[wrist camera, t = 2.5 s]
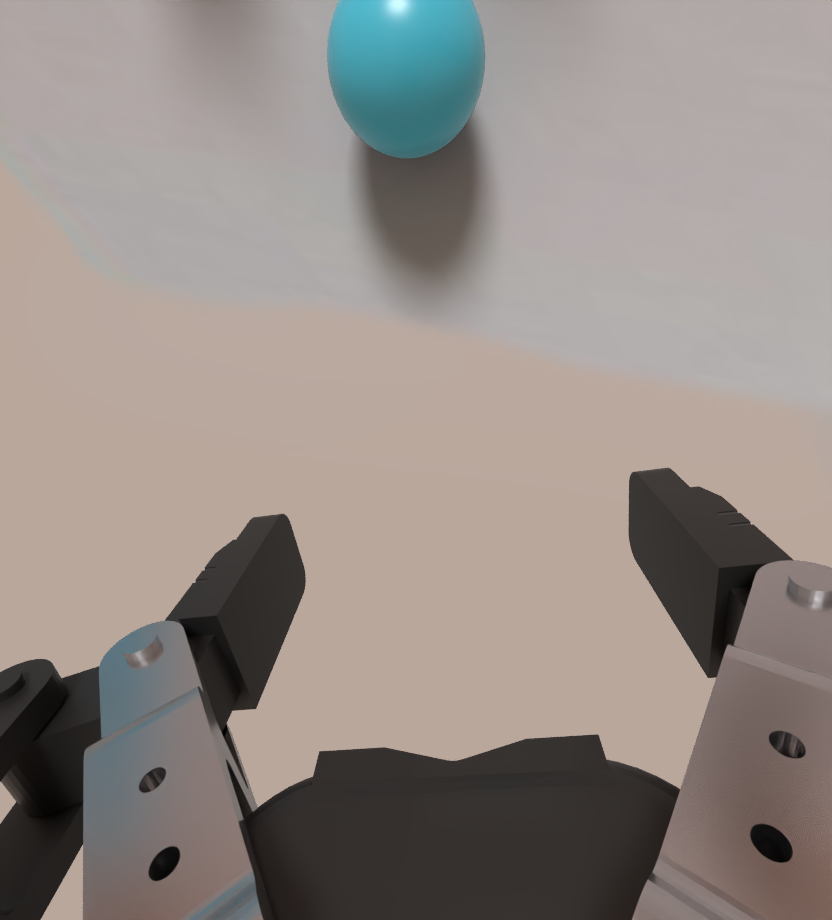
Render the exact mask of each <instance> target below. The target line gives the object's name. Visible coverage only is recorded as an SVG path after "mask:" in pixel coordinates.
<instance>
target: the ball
mask: <svg viewBox="0 0 832 920" xmlns="http://www.w3.org/2000/svg"><path fill="white" fill-rule="evenodd" d="M327 58H328V72H329V78H330V84H331V87H332V91H333V95H334V97H335V100H336V102H337V105H338V107H339V109H340V111H341V113H342V115H343V117H344V119H345V120H346V122H347V123H348V125H349V126H350V128H351V129H352V130H353V131H354V132H355V133H356V135H357V136H358V137H359V138H360V139H362V140H363V141H364V142H365V143H366V144H368V145H369V146H371V147H372V148H374V149H375V150H377V151H379V152H381V153H383V154H385V155H389V156H392V157H397V158H417V157H422V156H425V155H429V154H431V153H433V152H435V151H437V150H439V149H441V148H442V147H444V146H445V145H447V144H448V143H449V142H450V141H451V140H453V139H454V138H455V137H456V136H457V134H458V133H459V132H460V131H461V130H462V129H463V127H464V126H465V124H466V123H467V121H468V120H469V118H470V116H471V114H472V112H473V110H474V108H475V106H476V103H477V100H478V98H479V95H480V91H481V87H482V83H483V76H484V67H485V46H484V37H483V31H482V27H481V23H480V20H479V16H478V13H477V11H476V8H475V6H474V4H473V1H472V0H339V2H338V4H337V7H336V9H335V12H334V15H333V18H332V22H331V26H330V30H329V37H328V48H327Z"/></svg>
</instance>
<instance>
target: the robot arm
mask: <svg viewBox="0 0 832 920" xmlns="http://www.w3.org/2000/svg"><path fill="white" fill-rule="evenodd" d="M629 541H630V546H631V550H632V553H633V556H634V558H635V560H636V562H637V564H638V565H639V567H640V568H641V570H642V572H643V573H644V575H645V576H646V578H647V580H648V581H649V583H650V584H651V586H652V588H653V590H654V591H655V592H656V594H657V596H658V598H659V599H660V601H661V602H662V604H663V606H664V607H665V609H666V611H667V612H668V614H669V615H670V617H671V619H672V620H673V622H674V624H675V625H676V627H677V628H678V630H679V632H680V633H681V635H682V637H683V638H684V640H685V641H686V643H687V645H688V646H689V648H690V649H691V651H692V653H693V654H694V656H695V658H696V659H697V661H698V662H699V664H700V666H701V667H702V669H703V671H704V672H705V674H706V675H707V677H708V678H714V677H717V678H716V681H715V684H714V687H713V690H712V693H711V696H710V699H709V702H708V705H707V709H706V712H705V715H704V718H703V721H702V724H701V727H700V730H699V733H698V736H697V739H696V743H695V746H694V749H693V752H692V755H691V758H690V761H689V764H688V767H687V771H686V774H685V777H684V780H683V783H682V786H681V789H679V788H677V787H676V786H674V785H672V784H670V783H668V782H667V781H665V780H663V779H661V778H659V777H657V776H655V775H653V774H650V773H648V772H646V771H643V770H641V769H639V768H635V767H632V766H629V765H626V764H623V763H619V762H615V761H610V760H606V757H605V754H604V751H603V748H602V745H601V742H600V738H599V735H583V736H567V737H550V738H534V739H525V740H522V741H518V742H515V743H512V744H509V745H506V746H503V747H500V748H497V749H493V750H490V751H488V752H484V753H481V754H478V755H475V756H472V757H469V758H466V759H462V760H458V761H447V760H442V759H437V758H432V757H428V756H423V755H417V754H413V753H408V752H404V751H399V750H394V749H389V748H369V749H353V750H337V751H320V752H319V755H318V759H317V764H316V767H315V772H314V775H313V777H311V778H308V779H305V780H303V781H301V782H299V783H297V784H295V785H293V786H290V787H288V788H287V789H285V790H283V791H282V792H280V793H278V794H276V795H275V796H273V797H272V798H271V799H269V800H268V801H267V802H265V803H264V804H262V805H261V806H259V807H257V804H256V802H255V799H254V796H253V793H252V790H251V787H250V784H249V782H248V779H247V776H246V773H245V771H244V767H243V764H242V762H241V759H240V756H239V753H238V750H237V747H236V744H235V742H234V739H233V736H232V733H231V731H230V729H229V726H228V724H227V721H228V719H229V717H230V714H231V712H232V711H233V710H246V709H256V707H257V705H258V702H259V700H260V697H261V695H262V693H263V690H264V688H265V686H266V683H267V680H268V678H269V676H270V673H271V671H272V669H273V666H274V664H275V661H276V659H277V656H278V654H279V652H280V649H281V647H282V644H283V642H284V639H285V637H286V635H287V632H288V630H289V627H290V625H291V623H292V620H293V618H294V615H295V613H296V610H297V608H298V605H299V603H300V600H301V598H302V596H303V593H304V590H305V570H304V566H303V562H302V559H301V556H300V553H299V550H298V546H297V543H296V540H295V537H294V533H293V530H292V527H291V524H290V521H289V519H288V517H287V516H286V515H284V514H278V515H271V516H262V517H254V518H252V519H251V520H250V521H249V523H248V524H247V525H246V527H245V528H244V530H243V531H242V532H241V534H240V535H239V537H238V538H237V539H236V540H232V541H231V542H230V543H229V544H227V545H226V546H225V547H223V548H222V549H221V550H219V551H218V552H217V553H216V554H215V555H214V556H213V558H212V559H211V560H210V561H209V563H208V564H207V566H206V567H205V571H202V572H201V573H200V575H199V576H198V577H197V579H196V583H193V584H192V585H191V587H190V588H189V589H188V591H187V592H186V593H185V594H184V596H183V597H182V599H181V600H180V601H179V602H178V604H177V605H176V606H175V608H174V609H173V610H172V612H171V613H170V614H169V616H168V617H167V618H166V620H165V621H160V622H156V623H152V624H149V625H146V626H144V627H141V628H139V629H137V630H135V631H133V632H131V633H130V634H128V635H127V636H125V637H124V638H122V639H121V640H119V641H118V642H117V643H116V644H115V645H114V646H113V647H112V648H111V649H110V650H109V651H108V652H107V653H106V654H105V656H104V657H103V659H102V661H101V663H100V666H99V667H96V668H92V669H89V670H86V671H83V672H80V673H77V674H74V675H71V676H68V677H65V678H61V677H60V675H59V674H58V672H57V670H56V669H55V667H54V666H53V664H52V663H51V662H50V661H48V660H46V659H35V660H30V661H26V662H23V663H20V664H17V665H14V666H12V667H10V668H8V669H6V670H4V671H2V672H0V781H1V782H2V784H3V785H4V786H5V787H6V789H7V790H8V791H9V792H10V793H11V795H12V796H13V798H14V799H15V800H16V803H15V805H14V806H13V807H12V809H11V810H10V811H9V813H8V814H7V816H6V817H5V818H4V820H3V821H2V823H1V824H0V920H40V919H41V918H42V916H43V914H44V912H45V910H46V909H47V907H48V905H49V903H50V901H51V900H52V898H53V896H54V895H55V893H56V891H57V889H58V887H59V886H60V884H61V882H62V880H63V878H64V877H65V875H66V873H67V871H68V869H69V868H70V866H71V864H72V863H73V861H74V859H75V857H76V855H77V854H78V852H79V850H80V848H81V846H82V845H83V920H832V568H830V567H827V566H824V565H820V564H816V563H811V562H805V561H794V560H793V559H792V558H791V557H789V556H788V555H787V554H786V553H785V552H784V551H783V550H782V549H780V548H779V547H778V546H777V545H776V544H775V543H774V542H773V541H771V540H770V539H769V538H768V537H767V536H766V535H765V534H763V533H762V532H761V531H760V530H759V529H758V528H757V527H756V526H754V525H751V524H750V521H749V520H748V519H746V518H745V517H744V516H743V515H742V514H741V513H738V512H737V510H736V509H735V508H734V507H733V506H732V505H731V504H730V503H728V502H727V501H726V500H725V499H724V498H723V497H721V496H719V495H717V494H715V493H712V492H710V491H708V490H705V489H703V488H701V487H689V486H688V485H687V484H686V483H685V482H684V481H683V480H682V479H681V478H680V477H679V476H678V475H677V474H676V473H675V472H674V471H672V470H671V469H670V468H662V469H654V470H646V471H639V472H633V473H632V474H631V476H630V480H629Z"/></svg>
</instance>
